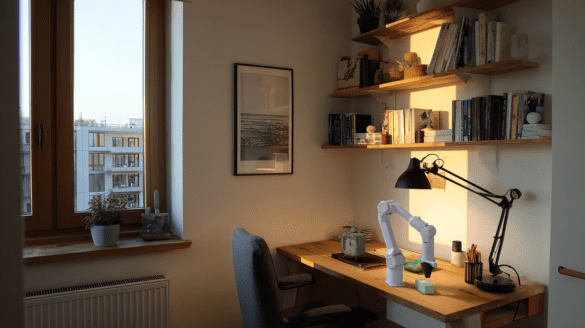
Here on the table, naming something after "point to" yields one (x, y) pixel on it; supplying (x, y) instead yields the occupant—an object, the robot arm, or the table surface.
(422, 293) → the mat
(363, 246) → the tabletop clock
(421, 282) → the sage block
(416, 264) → the puzzle game
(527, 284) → the table surface
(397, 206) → the robot arm
